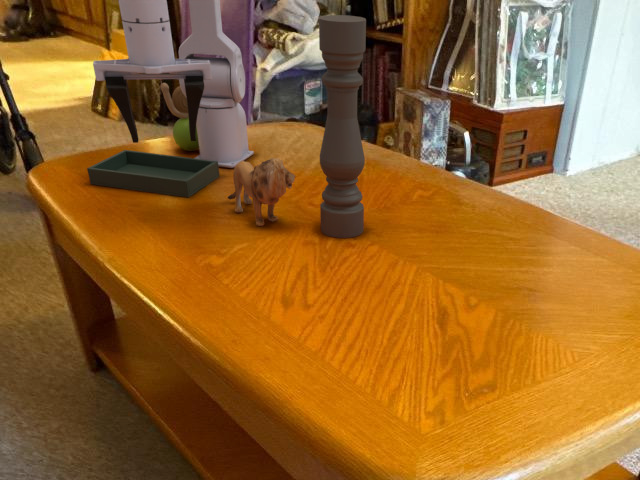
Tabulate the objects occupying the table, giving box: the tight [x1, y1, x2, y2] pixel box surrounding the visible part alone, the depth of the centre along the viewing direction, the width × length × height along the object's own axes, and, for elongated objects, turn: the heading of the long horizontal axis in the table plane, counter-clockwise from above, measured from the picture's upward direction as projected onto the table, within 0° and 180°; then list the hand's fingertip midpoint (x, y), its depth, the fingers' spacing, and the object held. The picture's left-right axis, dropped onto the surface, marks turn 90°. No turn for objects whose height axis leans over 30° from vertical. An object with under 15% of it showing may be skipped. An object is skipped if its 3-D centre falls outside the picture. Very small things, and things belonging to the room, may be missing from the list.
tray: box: [86, 149, 220, 198], centre depth 110 cm, size 11×17×2 cm, turn 75°
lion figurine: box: [227, 157, 296, 227], centre depth 98 cm, size 15×5×9 cm, turn 44°
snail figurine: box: [159, 79, 199, 152], centre depth 120 cm, size 5×6×12 cm
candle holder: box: [318, 14, 367, 239], centre depth 89 cm, size 6×6×25 cm
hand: (164, 140), depth 93 cm, fingers open, 7 cm apart
